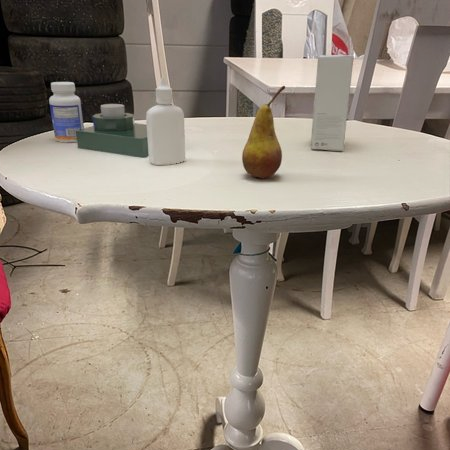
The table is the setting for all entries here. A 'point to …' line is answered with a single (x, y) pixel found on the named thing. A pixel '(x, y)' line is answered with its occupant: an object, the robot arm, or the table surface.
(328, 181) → the table surface
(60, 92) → the pill bottle
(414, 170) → the table surface
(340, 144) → the cosmetic box
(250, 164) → the fruit
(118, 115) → the pump button
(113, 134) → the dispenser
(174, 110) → the eye dropper bottle
